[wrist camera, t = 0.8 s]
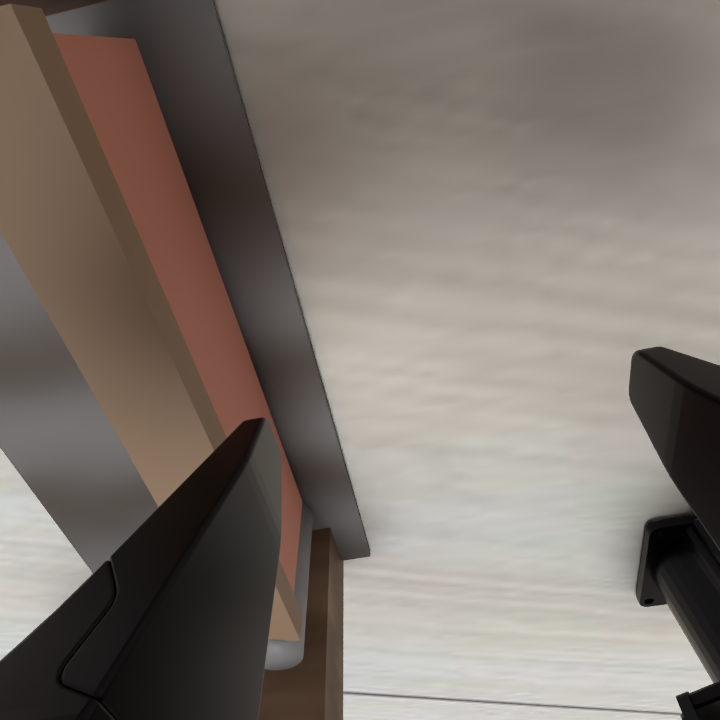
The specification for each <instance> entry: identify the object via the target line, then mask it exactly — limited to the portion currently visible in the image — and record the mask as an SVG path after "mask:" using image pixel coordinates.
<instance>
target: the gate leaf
mask: <svg viewBox="0 0 720 720" xmlns="http://www.w3.org/2000/svg"><path fill="white" fill-rule="evenodd" d="M0 231H1V233H2V235H3V237H4V238H5V240H6V242H7V244H8V245H9V247H10V249H11V251H12V252H13V254H14V256H15V258H16V259H17V261H18V263H19V265H20V266H21V268H22V270H23V272H24V273H25V275H26V277H27V279H28V280H29V282H30V284H31V285H32V287H33V289H34V291H35V292H36V294H37V296H38V298H39V299H40V301H41V303H42V305H43V306H44V308H45V310H46V312H47V313H48V315H49V317H50V319H51V320H52V322H53V324H54V326H55V327H56V329H57V331H58V333H59V334H60V336H61V338H62V340H63V341H64V343H65V345H66V347H67V348H68V350H69V352H70V354H71V355H72V357H73V359H74V361H75V362H76V364H77V366H78V367H79V369H80V371H81V373H82V374H83V376H84V378H85V380H86V381H87V383H88V385H89V387H90V388H91V390H92V392H93V394H94V395H95V397H96V399H97V401H98V402H99V404H100V406H101V408H102V409H103V411H104V413H105V415H106V416H107V418H108V420H109V422H110V423H111V425H112V427H113V429H114V430H115V432H116V434H117V436H118V437H119V439H120V441H121V442H122V444H123V446H124V448H125V449H126V451H127V453H128V455H129V456H130V458H131V460H132V462H133V463H134V465H135V467H136V469H137V470H138V472H139V474H140V476H141V477H142V479H143V481H144V483H145V484H146V486H147V488H148V490H149V491H150V493H151V495H152V497H153V498H154V500H155V502H156V504H157V505H158V507H159V506H160V505H161V504H162V503H163V502H164V501H165V500H166V499H167V498H168V497H169V496H170V495H171V494H172V493H173V492H174V491H175V490H176V489H177V488H178V487H179V486H180V485H181V484H182V483H183V482H184V481H185V480H186V479H187V478H188V477H189V476H190V475H191V474H192V473H193V472H194V471H195V470H196V469H197V468H198V467H199V466H200V465H201V464H202V463H203V462H204V461H205V460H206V459H207V458H208V457H209V456H210V455H211V453H212V452H213V451H214V450H215V449H216V448H217V447H218V446H219V445H220V444H221V443H222V442H223V441H224V440H225V439H226V438H227V437H228V436H229V435H230V434H231V433H232V432H233V431H234V430H235V429H236V428H237V427H238V426H239V425H240V424H241V423H242V422H243V421H245V420H249V419H255V418H261V417H265V418H267V419H268V421H269V422H270V425H271V427H272V430H273V433H274V435H275V438H276V441H277V444H278V446H279V449H280V452H281V457H282V530H281V545H280V554H279V562H278V570H277V577H276V585H275V593H274V600H273V608H272V616H271V623H270V631H269V639H268V646H267V654H266V662H265V669H267V670H286V669H290V668H293V667H295V666H297V665H298V664H299V663H300V662H301V661H302V660H303V655H304V641H305V626H306V612H307V597H308V583H309V568H310V554H311V539H312V525H313V513H312V511H311V509H310V508H309V507H308V506H306V505H305V504H303V503H302V499H301V496H300V493H299V491H298V488H297V485H296V482H295V480H294V477H293V474H292V471H291V469H290V466H289V463H288V460H287V458H286V455H285V452H284V449H283V446H282V444H281V441H280V438H279V435H278V433H277V430H276V427H275V424H274V422H273V419H272V416H271V413H270V411H269V408H268V405H267V402H266V399H265V397H264V394H263V391H262V388H261V386H260V383H259V380H258V377H257V375H256V372H255V369H254V366H253V364H252V361H251V358H250V355H249V352H248V350H247V347H246V344H245V341H244V339H243V336H242V333H241V330H240V328H239V325H238V322H237V319H236V316H235V314H234V311H233V308H232V305H231V303H230V300H229V297H228V294H227V292H226V289H225V286H224V283H223V281H222V278H221V275H220V272H219V269H218V267H217V264H216V261H215V258H214V256H213V253H212V250H211V247H210V245H209V242H208V239H207V236H206V234H205V231H204V228H203V225H202V222H201V220H200V217H199V214H198V211H197V209H196V206H195V203H194V200H193V198H192V195H191V192H190V189H189V187H188V184H187V181H186V178H185V175H184V173H183V170H182V167H181V164H180V162H179V159H178V156H177V153H176V151H175V148H174V145H173V142H172V140H171V137H170V134H169V131H168V128H167V126H166V123H165V120H164V117H163V115H162V112H161V109H160V106H159V104H158V101H157V98H156V95H155V92H154V90H153V87H152V84H151V81H150V79H149V76H148V73H147V70H146V68H145V65H144V62H143V59H142V57H141V54H140V51H139V48H138V45H137V43H136V40H135V39H129V38H115V37H101V36H88V35H74V34H61V33H52V31H51V29H50V26H49V24H48V22H47V19H46V17H45V15H44V13H43V10H42V8H37V7H30V6H23V5H17V4H6V5H2V6H0Z"/></svg>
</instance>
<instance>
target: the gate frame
mask: <svg viewBox="0 0 720 720" xmlns="http://www.w3.org/2000/svg"><path fill="white" fill-rule="evenodd" d="M6 4H17V5H23V6H30V7H37V8H42V10H43V13H44V15H45V17H46V19H47V22H48V24H49V26H50V29H51V31H52V33H61V34H74V35H88V36H101V37H115V38H129V39H135V40H136V43H137V45H138V48H139V51H140V54H141V57H142V59H143V62H144V65H145V68H146V70H147V73H148V76H149V79H150V81H151V84H152V87H153V90H154V92H155V95H156V98H157V101H158V104H159V106H160V109H161V112H162V115H163V117H164V120H165V123H166V126H167V128H168V131H169V134H170V137H171V140H172V142H173V145H174V148H175V151H176V153H177V156H178V159H179V162H180V164H181V167H182V170H183V173H184V175H185V178H186V181H187V184H188V187H189V189H190V192H191V195H192V198H193V200H194V203H195V206H196V209H197V211H198V214H199V217H200V220H201V222H202V225H203V228H204V231H205V234H206V236H207V239H208V242H209V245H210V247H211V250H212V253H213V256H214V258H215V261H216V264H217V267H218V269H219V272H220V275H221V278H222V281H223V283H224V286H225V289H226V292H227V294H228V297H229V300H230V303H231V305H232V308H233V311H234V314H235V316H236V319H237V322H238V325H239V328H240V330H241V333H242V336H243V339H244V341H245V344H246V347H247V350H248V352H249V355H250V358H251V361H252V364H253V366H254V369H255V372H256V375H257V377H258V380H259V383H260V386H261V388H262V391H263V394H264V397H265V399H266V402H267V405H268V408H269V411H270V413H271V416H272V419H273V422H274V424H275V427H276V430H277V433H278V435H279V438H280V441H281V444H282V446H283V449H284V452H285V455H286V458H287V460H288V463H289V466H290V469H291V471H292V474H293V477H294V480H295V482H296V485H297V488H298V491H299V493H300V496H301V499H302V503H303V504H305V505H306V506H308V507H309V508H310V509H311V511H312V513H313V525H312V539H311V554H310V568H309V583H308V597H307V612H306V626H305V641H304V655H303V660H302V661H301V662H300V663H299V664H298V665H297V666H295V667H293V668H290V669H286V670H267V669H264V677H263V685H262V692H261V700H260V707H259V715H258V720H343V560H349V559H355V558H362V557H369V556H370V549H369V546H368V542H367V539H366V535H365V532H364V528H363V525H362V521H361V518H360V514H359V511H358V507H357V504H356V500H355V497H354V493H353V490H352V486H351V483H350V479H349V476H348V472H347V469H346V465H345V462H344V458H343V455H342V451H341V448H340V444H339V441H338V437H337V433H336V430H335V426H334V423H333V419H332V416H331V412H330V409H329V405H328V402H327V398H326V395H325V391H324V388H323V384H322V381H321V377H320V374H319V370H318V367H317V363H316V360H315V356H314V353H313V349H312V346H311V342H310V339H309V335H308V332H307V328H306V325H305V321H304V318H303V314H302V311H301V307H300V303H299V300H298V296H297V293H296V289H295V286H294V282H293V279H292V275H291V272H290V268H289V265H288V261H287V258H286V254H285V251H284V247H283V244H282V240H281V237H280V233H279V230H278V226H277V223H276V219H275V216H274V212H273V209H272V205H271V202H270V198H269V195H268V191H267V188H266V184H265V181H264V177H263V173H262V170H261V166H260V163H259V159H258V156H257V152H256V149H255V145H254V142H253V138H252V135H251V131H250V128H249V124H248V121H247V117H246V114H245V110H244V107H243V103H242V100H241V96H240V93H239V89H238V86H237V82H236V79H235V75H234V72H233V68H232V65H231V61H230V58H229V54H228V51H227V47H226V44H225V40H224V36H223V33H222V29H221V26H220V22H219V19H218V15H217V12H216V8H215V5H214V1H213V0H0V6H2V5H6ZM0 448H1V449H2V451H3V452H4V453H5V455H6V456H7V457H8V459H9V460H10V461H11V463H12V464H13V465H14V467H15V468H16V469H17V471H18V472H19V474H20V475H21V476H22V478H23V479H24V480H25V482H26V483H27V484H28V486H29V487H30V488H31V490H32V491H33V492H34V494H35V495H36V497H37V498H38V499H39V501H40V502H41V503H42V505H43V506H44V507H45V509H46V510H47V511H48V513H49V514H50V515H51V517H52V518H53V520H54V521H55V522H56V524H57V525H58V526H59V528H60V529H61V530H62V532H63V533H64V534H65V536H66V537H67V538H68V540H69V541H70V543H71V544H72V545H73V547H74V548H75V549H76V551H77V552H78V553H79V555H80V556H81V557H82V559H83V560H84V561H85V563H86V564H87V566H88V567H89V568H90V570H91V571H92V572H93V573H94V572H95V571H96V570H97V569H98V568H99V567H100V566H101V565H102V564H103V563H104V562H105V561H107V560H108V561H110V556H111V555H112V554H113V553H114V552H115V551H116V550H117V549H118V548H119V547H120V546H121V545H122V544H123V543H124V542H125V541H126V540H127V539H128V538H129V537H130V536H131V535H132V534H133V533H134V532H135V531H136V530H137V529H138V528H139V527H140V526H141V525H142V524H143V523H144V522H145V521H146V520H147V519H148V518H149V517H150V515H151V514H152V513H153V512H154V511H155V510H156V509H157V508H158V505H157V504H156V502H155V500H154V498H153V497H152V495H151V493H150V491H149V490H148V488H147V486H146V484H145V483H144V481H143V479H142V477H141V476H140V474H139V472H138V470H137V469H136V467H135V465H134V463H133V462H132V460H131V458H130V456H129V455H128V453H127V451H126V449H125V448H124V446H123V444H122V442H121V441H120V439H119V437H118V436H117V434H116V432H115V430H114V429H113V427H112V425H111V423H110V422H109V420H108V418H107V416H106V415H105V413H104V411H103V409H102V408H101V406H100V404H99V402H98V401H97V399H96V397H95V395H94V394H93V392H92V390H91V388H90V387H89V385H88V383H87V381H86V380H85V378H84V376H83V374H82V373H81V371H80V369H79V367H78V366H77V364H76V362H75V361H74V359H73V357H72V355H71V354H70V352H69V350H68V348H67V347H66V345H65V343H64V341H63V340H62V338H61V336H60V334H59V333H58V331H57V329H56V327H55V326H54V324H53V322H52V320H51V319H50V317H49V315H48V313H47V312H46V310H45V308H44V306H43V305H42V303H41V301H40V299H39V298H38V296H37V294H36V292H35V291H34V289H33V287H32V285H31V284H30V282H29V280H28V279H27V277H26V275H25V273H24V272H23V270H22V268H21V266H20V265H19V263H18V261H17V259H16V258H15V256H14V254H13V252H12V251H11V249H10V247H9V245H8V244H7V242H6V240H5V238H4V237H3V235H2V233H1V231H0Z"/></svg>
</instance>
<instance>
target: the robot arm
mask: <svg viewBox="0 0 720 720" xmlns="http://www.w3.org/2000/svg"><path fill="white" fill-rule="evenodd" d="M629 397H630V400H631V403H632V405H633V407H634V409H635V411H636V413H637V415H638V417H639V419H640V421H641V423H642V425H643V427H644V428H645V430H646V432H647V434H648V436H649V438H650V440H651V442H652V444H653V446H654V448H655V450H656V451H657V453H658V455H659V457H660V459H661V461H662V463H663V465H664V467H665V468H666V470H667V472H668V474H669V476H670V477H671V479H672V480H673V482H674V484H675V485H676V487H677V488H678V490H679V491H680V493H681V494H682V496H683V497H684V499H685V500H686V501H687V503H688V504H689V506H690V507H691V509H692V510H693V512H694V513H695V516H688V517H682V518H675V519H668V520H662V521H656V522H652V523H651V524H649V525H648V526H647V527H646V529H645V535H644V543H643V550H642V557H641V564H640V572H639V579H638V586H637V594H636V597H637V600H638V601H639V603H640V605H641V606H644V607H649V606H657V605H664V604H667V605H668V606H669V608H670V610H671V611H672V613H673V615H674V616H675V618H676V620H677V622H678V623H679V625H680V627H681V628H682V630H683V632H684V634H685V635H686V637H687V639H688V640H689V642H690V644H691V645H692V647H693V649H694V651H695V652H696V654H697V656H698V657H699V659H700V661H701V662H702V664H703V666H704V668H705V669H706V671H707V673H708V674H709V676H710V678H711V680H712V681H713V683H714V684H711V685H709V686H706V687H704V688H701V689H699V690H697V691H694V692H692V693H689V692H685V693H682V694H680V695H677V696H676V698H677V701H678V703H679V706H680V708H681V711H682V715H681V718H682V720H720V366H719V365H716V364H713V363H710V362H707V361H704V360H701V359H698V358H695V357H692V356H689V355H685V354H682V353H679V352H676V351H673V350H670V349H667V348H664V347H652V348H647V349H642V350H637V351H636V352H635V353H634V354H633V356H632V360H631V371H630V382H629ZM281 530H282V457H281V452H280V449H279V446H278V444H277V441H276V438H275V435H274V433H273V430H272V427H271V425H270V422H269V421H268V419H267V418H265V417H261V418H255V419H249V420H245V421H243V422H242V423H241V424H240V425H239V426H238V427H237V428H236V429H235V430H234V431H233V432H232V433H231V434H230V435H229V436H228V437H227V438H226V439H225V440H224V441H223V442H222V443H221V444H220V445H219V446H218V447H217V448H216V449H215V450H214V451H213V452H212V453H211V455H210V456H209V457H208V458H207V459H206V460H205V461H204V462H203V463H202V464H201V465H200V466H199V467H198V468H197V469H196V470H195V471H194V472H193V473H192V474H191V475H190V476H189V477H188V478H187V479H186V480H185V481H184V482H183V483H182V484H181V485H180V486H179V487H178V488H177V489H176V490H175V491H174V492H173V493H172V494H171V495H170V496H169V497H168V498H167V499H166V500H165V501H164V502H163V503H162V504H161V505H160V506H159V507H158V508H157V509H156V510H155V511H154V512H153V513H152V514H151V515H150V517H149V518H148V519H147V520H146V521H145V522H144V523H143V524H142V525H141V526H140V527H139V528H138V529H137V530H136V531H135V532H134V533H133V534H132V535H131V536H130V537H129V538H128V539H127V540H126V541H125V542H124V543H123V544H122V545H121V546H120V547H119V548H118V549H117V550H116V551H115V552H114V553H113V554H112V555H111V556H110V561H108V560H107V561H105V562H104V563H103V564H102V565H101V566H100V567H99V568H98V569H97V570H96V571H95V572H94V573H93V574H92V575H91V576H90V577H89V578H88V579H87V580H86V581H85V582H84V583H83V584H82V585H81V586H80V587H79V588H78V589H77V590H76V591H75V592H74V593H73V594H72V595H71V596H70V597H69V598H68V599H67V600H66V601H65V602H64V603H63V604H62V605H61V606H60V607H59V608H58V609H57V610H56V611H54V612H53V613H52V614H51V615H50V616H49V617H48V618H47V619H46V620H45V621H44V622H43V623H41V624H40V625H39V626H38V627H37V628H36V629H35V630H34V631H33V632H32V633H31V634H29V635H28V636H27V637H26V638H25V639H24V640H23V641H22V642H21V643H20V644H18V645H17V646H16V647H15V648H14V649H13V650H12V651H11V652H10V653H8V654H7V655H6V656H5V657H4V658H3V659H2V660H1V661H0V720H258V715H259V707H260V700H261V692H262V685H263V677H264V669H265V662H266V654H267V646H268V639H269V631H270V623H271V616H272V608H273V600H274V593H275V585H276V577H277V570H278V562H279V554H280V545H281Z"/></svg>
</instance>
